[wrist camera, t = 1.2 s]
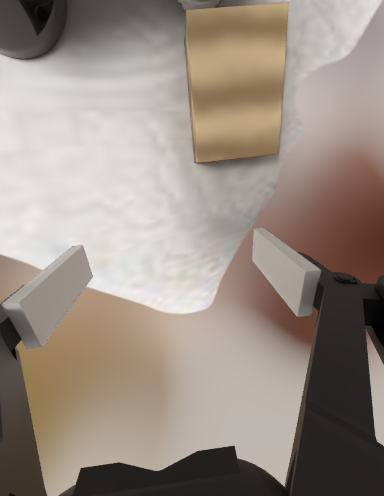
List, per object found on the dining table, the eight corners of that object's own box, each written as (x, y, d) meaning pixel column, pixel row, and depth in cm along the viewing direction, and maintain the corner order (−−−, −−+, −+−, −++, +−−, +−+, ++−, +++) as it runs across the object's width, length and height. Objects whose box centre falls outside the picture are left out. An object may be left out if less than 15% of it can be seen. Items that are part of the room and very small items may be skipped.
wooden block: (184, 41, 28) (186, 10, 22) (266, 34, 28) (288, 2, 23) (194, 163, 34) (197, 161, 29) (262, 156, 34) (278, 153, 29)
